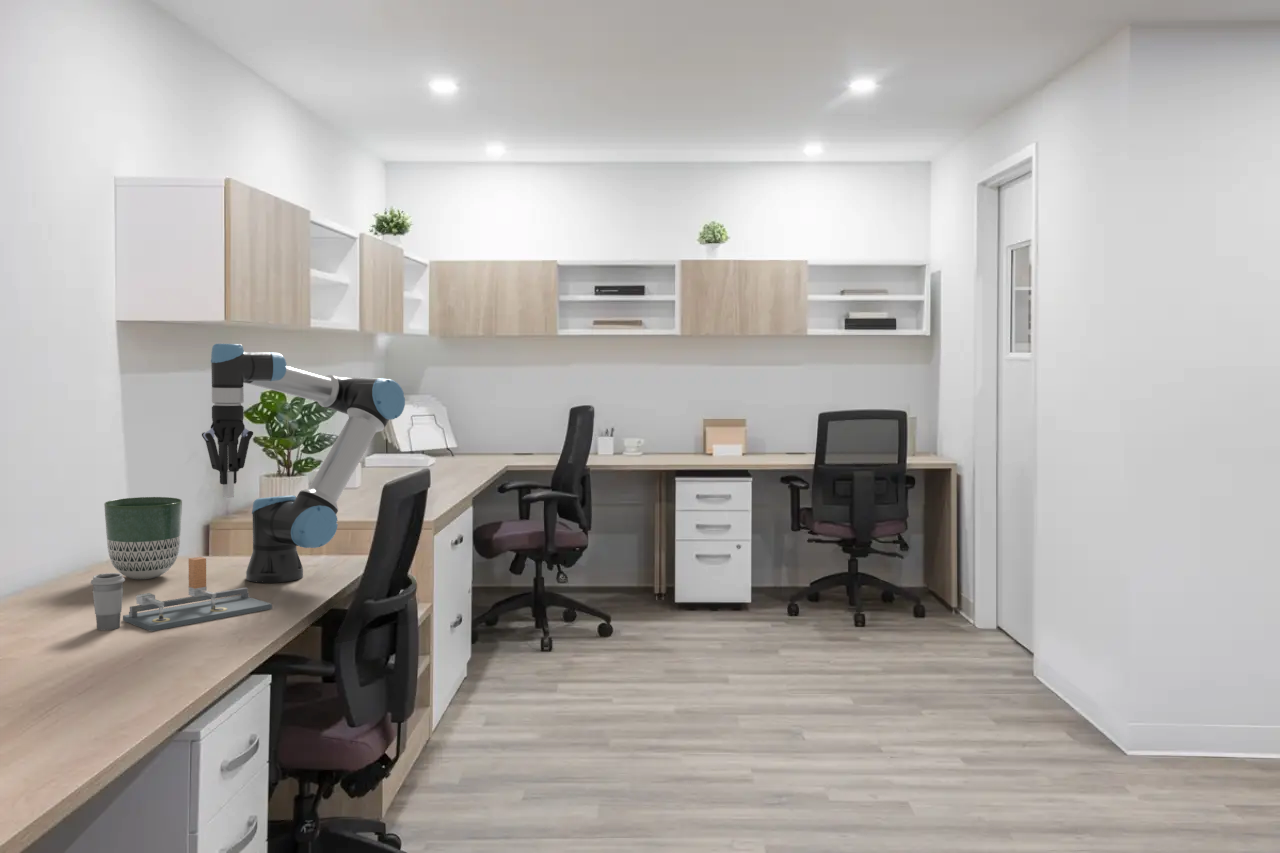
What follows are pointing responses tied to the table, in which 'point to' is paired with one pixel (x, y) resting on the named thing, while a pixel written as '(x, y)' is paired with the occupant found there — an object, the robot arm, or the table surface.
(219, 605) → the gauge board
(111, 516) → the planter
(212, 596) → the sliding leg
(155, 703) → the table surface
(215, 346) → the robot arm
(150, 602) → the rail
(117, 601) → the cup
